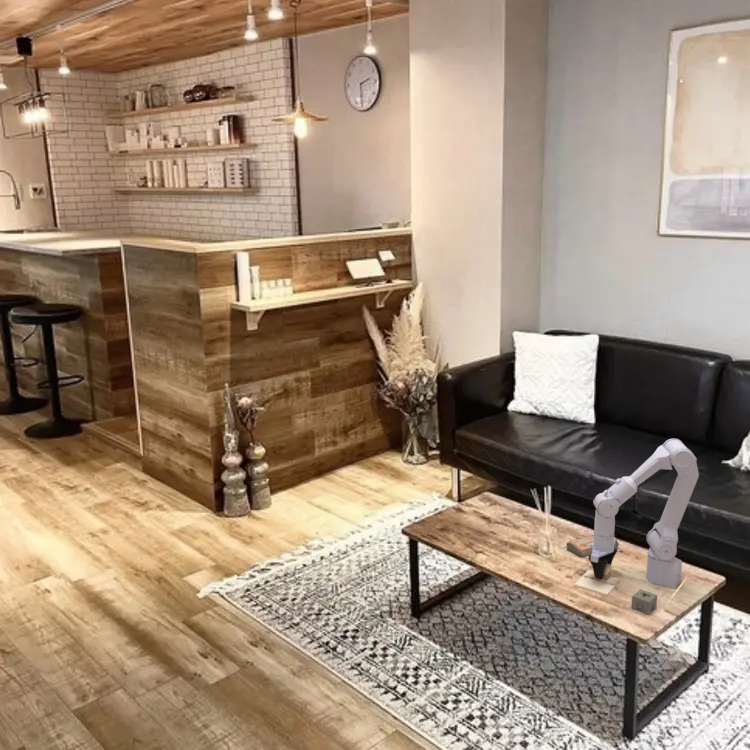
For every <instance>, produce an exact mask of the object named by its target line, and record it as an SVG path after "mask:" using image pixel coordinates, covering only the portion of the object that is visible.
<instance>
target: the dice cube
mask: <svg viewBox="0 0 750 750" xmlns="http://www.w3.org/2000/svg"><path fill="white" fill-rule="evenodd" d="M657 607H658V595H657V594H655V593H652V592H650V591H647V590H644V589H641V588H640V589H638V591H636V592H635V593H634V594H632V596H631V606H630V609H632V610H635V611H638V612H640V613H642V614H645V615H648V616H649V615H650V614H651V613H652V612H654V610H656V608H657Z"/></svg>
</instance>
